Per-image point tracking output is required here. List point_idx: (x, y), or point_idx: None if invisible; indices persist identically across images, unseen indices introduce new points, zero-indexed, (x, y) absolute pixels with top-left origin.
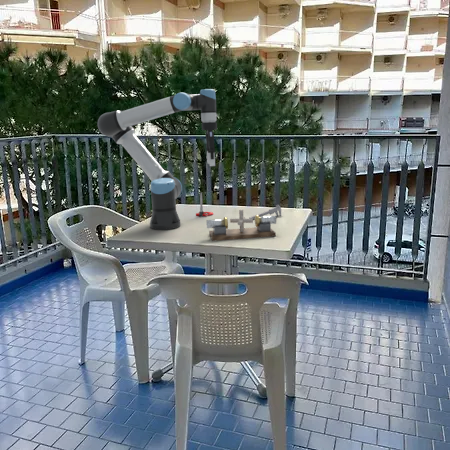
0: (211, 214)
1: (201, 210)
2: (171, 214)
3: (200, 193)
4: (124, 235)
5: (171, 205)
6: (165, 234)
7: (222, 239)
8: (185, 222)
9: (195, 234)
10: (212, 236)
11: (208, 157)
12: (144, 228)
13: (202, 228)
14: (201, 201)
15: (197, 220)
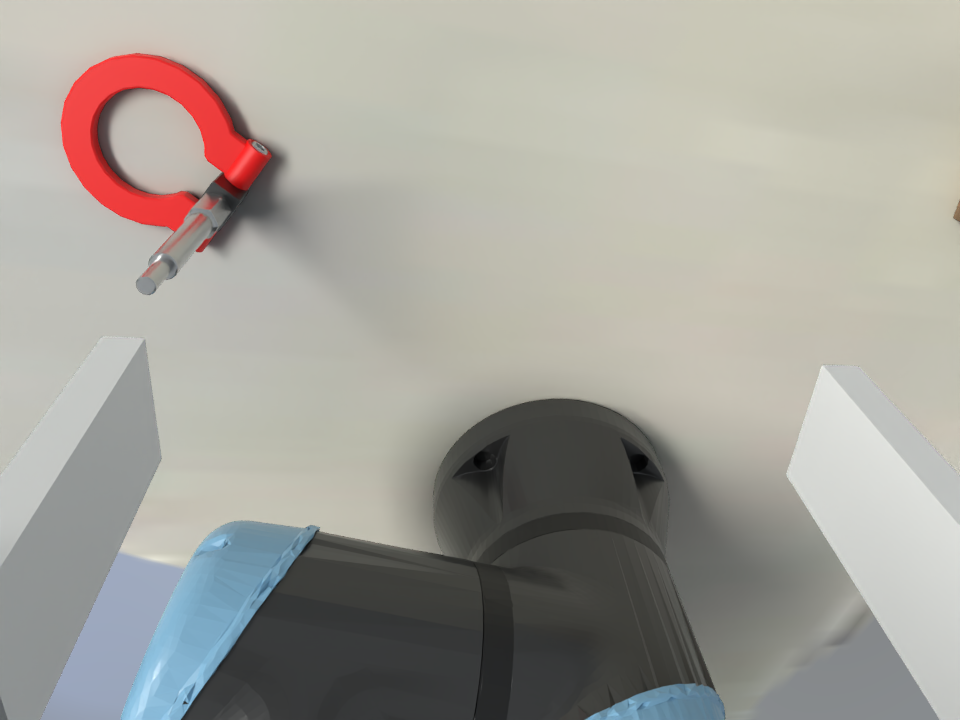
0: (204, 84)
1: (227, 213)
2: (655, 525)
3: (152, 291)
4: None
5: (668, 576)
6: (783, 496)
7: None
8: (466, 356)
9: (901, 318)
10: None
11: (102, 546)
12: None
13: (746, 247)
14: (195, 244)
15: (422, 253)
